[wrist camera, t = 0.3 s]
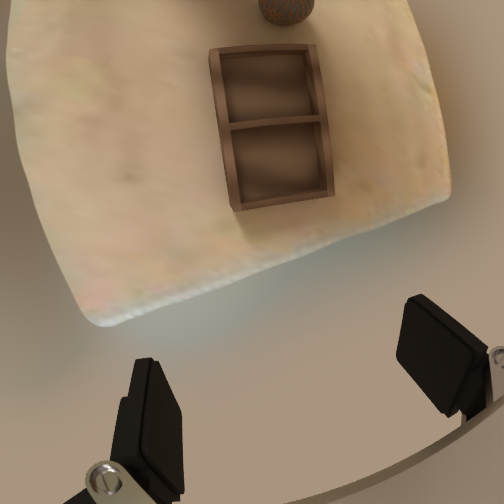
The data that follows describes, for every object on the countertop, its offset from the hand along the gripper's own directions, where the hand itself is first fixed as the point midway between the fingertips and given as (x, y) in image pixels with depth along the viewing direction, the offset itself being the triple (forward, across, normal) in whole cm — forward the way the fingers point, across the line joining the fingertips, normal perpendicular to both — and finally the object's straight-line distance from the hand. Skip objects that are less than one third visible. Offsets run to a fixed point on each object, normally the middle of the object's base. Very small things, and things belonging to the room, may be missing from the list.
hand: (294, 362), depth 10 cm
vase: (+31, -11, -27) cm, 42 cm away
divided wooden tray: (+30, -7, -10) cm, 33 cm away
